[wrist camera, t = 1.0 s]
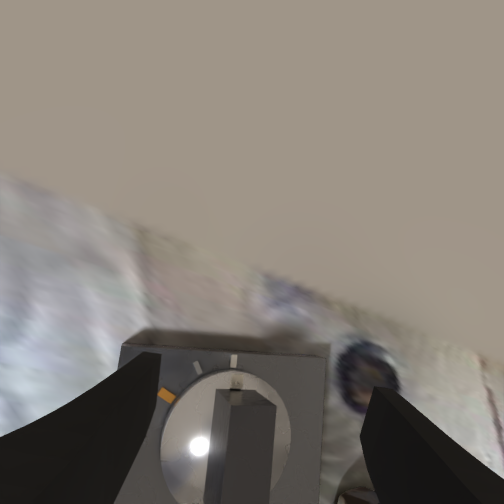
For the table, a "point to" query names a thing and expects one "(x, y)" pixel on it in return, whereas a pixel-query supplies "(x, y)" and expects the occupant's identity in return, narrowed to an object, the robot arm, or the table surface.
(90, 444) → the robot arm
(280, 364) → the dial plate
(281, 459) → the dial
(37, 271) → the table surface
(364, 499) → the dark scrub brush
